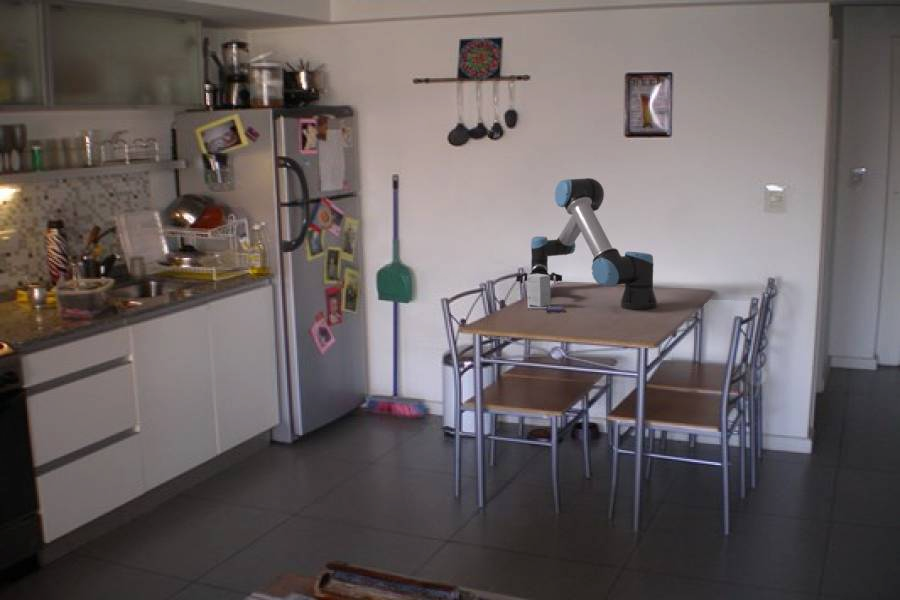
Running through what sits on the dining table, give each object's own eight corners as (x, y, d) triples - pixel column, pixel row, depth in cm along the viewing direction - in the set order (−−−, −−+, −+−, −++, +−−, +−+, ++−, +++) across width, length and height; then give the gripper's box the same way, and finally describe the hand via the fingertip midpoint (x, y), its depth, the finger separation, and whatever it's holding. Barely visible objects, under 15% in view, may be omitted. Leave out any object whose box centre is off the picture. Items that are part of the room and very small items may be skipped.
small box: (550, 305, 418) (550, 275, 416) (540, 307, 414) (539, 277, 412) (537, 302, 424) (537, 273, 422) (526, 304, 420) (526, 274, 418)
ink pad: (563, 309, 412) (563, 306, 412) (563, 312, 405) (563, 309, 405) (546, 309, 413) (546, 306, 413) (546, 312, 406) (546, 309, 406)
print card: (550, 304, 424) (550, 302, 424) (550, 309, 413) (550, 307, 413) (528, 304, 425) (528, 302, 425) (527, 309, 414) (527, 307, 414)
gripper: (566, 281, 447) (567, 289, 426) (512, 281, 449) (510, 290, 428) (566, 265, 445) (567, 272, 424) (512, 265, 448) (510, 273, 427)
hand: (539, 281), depth 426 cm, fingers open, 13 cm apart
